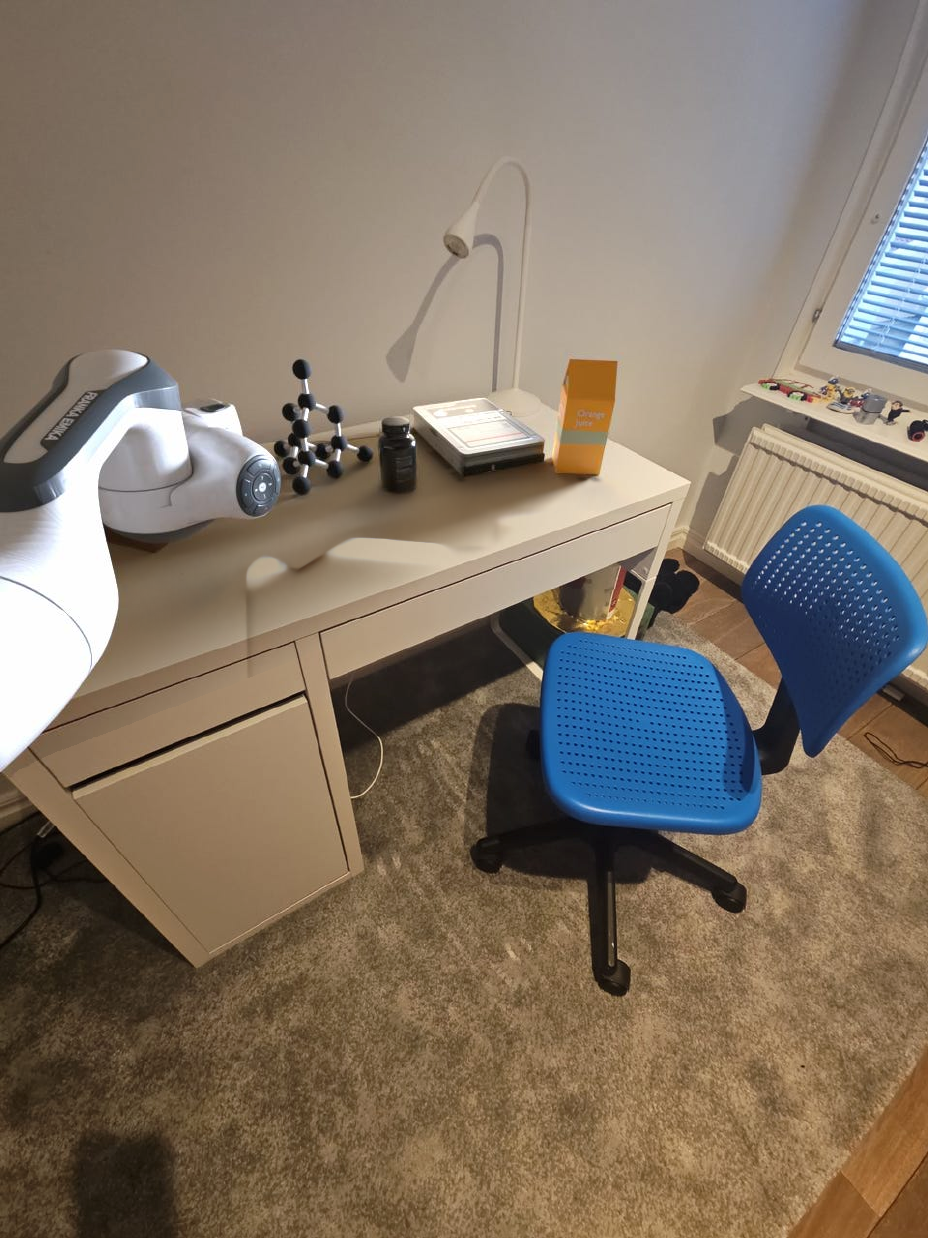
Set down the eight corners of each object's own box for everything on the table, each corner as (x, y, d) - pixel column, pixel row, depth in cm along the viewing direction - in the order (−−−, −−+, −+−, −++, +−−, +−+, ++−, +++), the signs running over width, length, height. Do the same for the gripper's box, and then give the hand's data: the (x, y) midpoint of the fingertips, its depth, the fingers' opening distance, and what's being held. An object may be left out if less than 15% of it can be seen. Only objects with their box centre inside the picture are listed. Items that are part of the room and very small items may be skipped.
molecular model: (377, 461, 108) (368, 353, 95) (302, 499, 95) (280, 381, 82) (314, 439, 115) (298, 336, 102) (237, 472, 102) (207, 359, 89)
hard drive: (463, 476, 104) (463, 454, 101) (412, 426, 122) (411, 406, 119) (544, 461, 110) (546, 440, 107) (484, 416, 128) (485, 397, 125)
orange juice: (599, 474, 106) (622, 367, 93) (555, 472, 106) (571, 365, 93) (593, 457, 112) (614, 354, 99) (551, 456, 112) (566, 352, 99)
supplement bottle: (420, 478, 103) (418, 415, 95) (414, 495, 98) (412, 430, 90) (384, 475, 103) (380, 412, 95) (376, 492, 98) (371, 427, 90)
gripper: (105, 503, 62) (50, 468, 68) (254, 447, 75) (196, 422, 81) (82, 450, 58) (25, 418, 64) (244, 401, 70) (183, 378, 76)
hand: (122, 420), depth 72 cm, fingers open, 8 cm apart
